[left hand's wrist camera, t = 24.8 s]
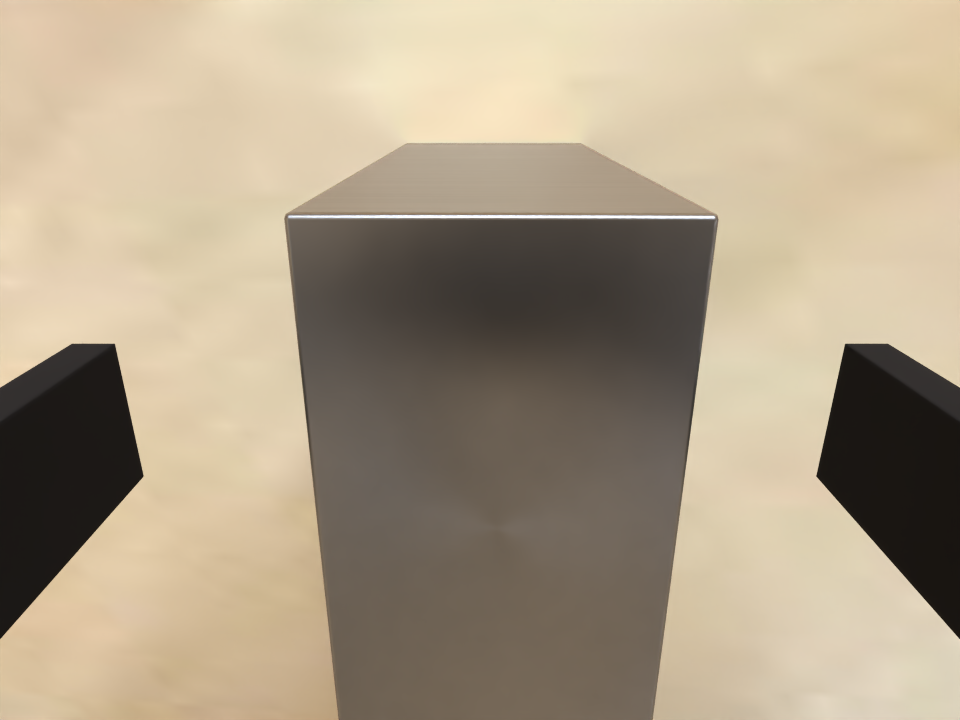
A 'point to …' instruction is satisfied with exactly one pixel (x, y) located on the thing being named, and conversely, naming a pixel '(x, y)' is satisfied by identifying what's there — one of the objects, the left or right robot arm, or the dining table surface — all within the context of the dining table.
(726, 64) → the dining table surface
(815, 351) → the dining table surface
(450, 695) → the block
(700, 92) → the dining table surface
